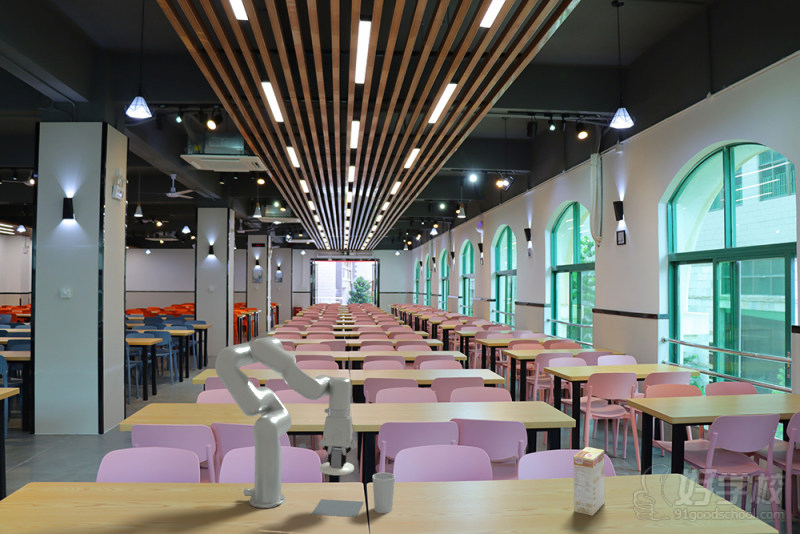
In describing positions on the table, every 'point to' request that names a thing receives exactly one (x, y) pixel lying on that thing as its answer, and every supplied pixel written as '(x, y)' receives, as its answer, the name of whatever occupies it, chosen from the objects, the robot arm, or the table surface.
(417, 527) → the table surface
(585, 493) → the coffeecake box
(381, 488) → the cup
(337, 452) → the lid
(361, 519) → the table surface
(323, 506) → the mat
